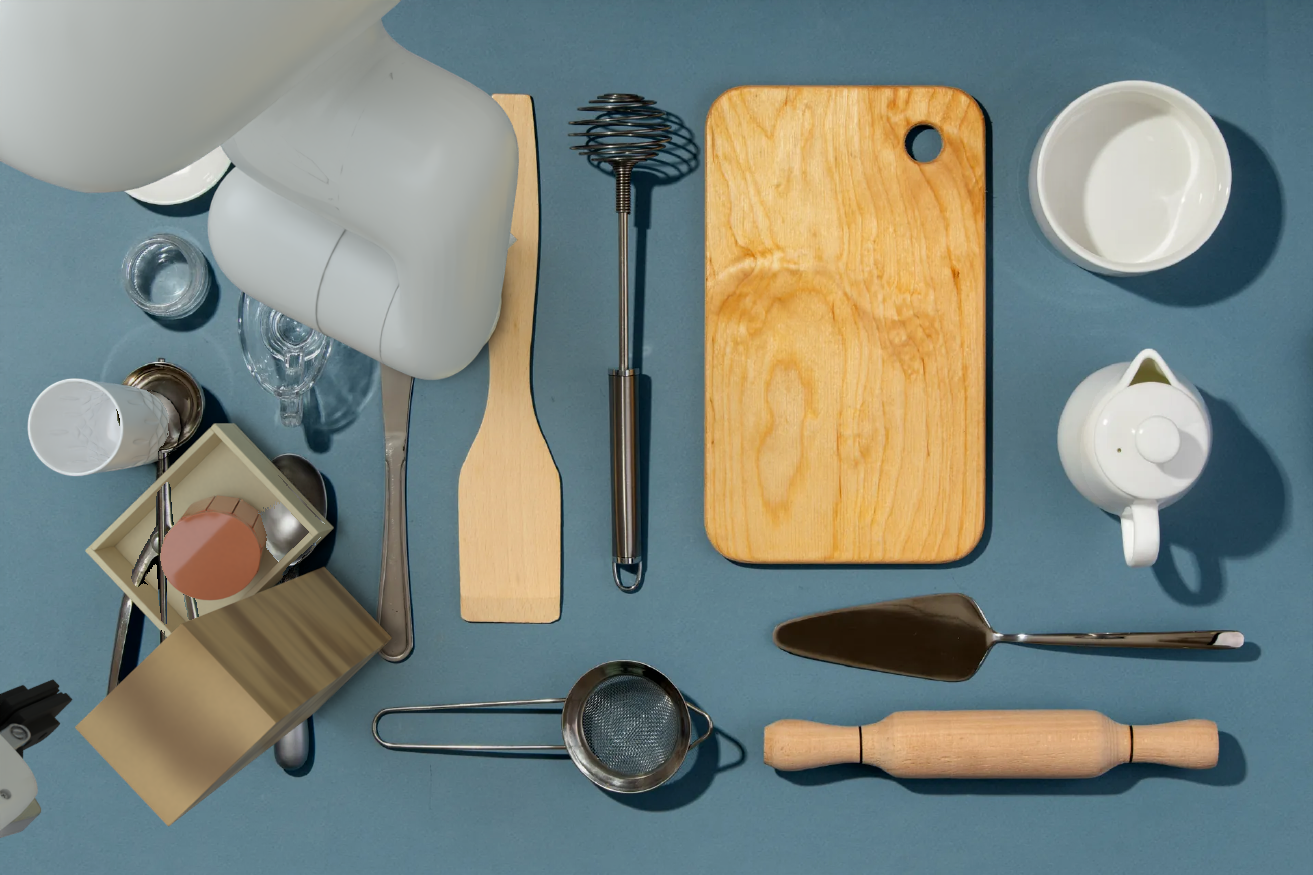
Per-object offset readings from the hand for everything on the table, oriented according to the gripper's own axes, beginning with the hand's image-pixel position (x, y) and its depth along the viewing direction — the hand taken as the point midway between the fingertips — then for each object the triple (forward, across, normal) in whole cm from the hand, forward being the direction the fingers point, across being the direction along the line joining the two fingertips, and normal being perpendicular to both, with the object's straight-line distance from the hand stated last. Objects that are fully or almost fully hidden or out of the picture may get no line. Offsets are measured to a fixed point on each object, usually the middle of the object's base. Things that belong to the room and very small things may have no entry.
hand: (45, 707), depth 53 cm
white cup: (+32, +20, -2) cm, 38 cm away
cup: (+24, +6, -2) cm, 25 cm away
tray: (+32, +8, 0) cm, 33 cm away
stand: (+32, -5, 0) cm, 32 cm away
